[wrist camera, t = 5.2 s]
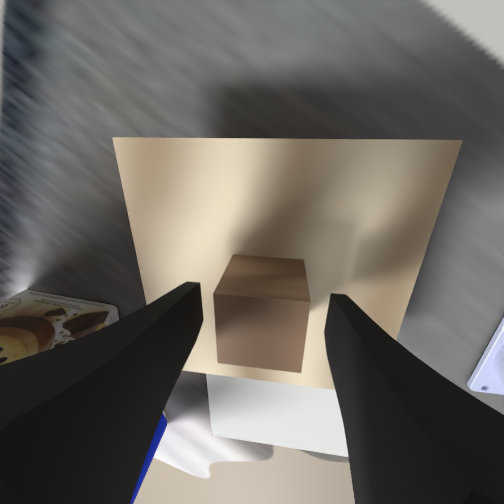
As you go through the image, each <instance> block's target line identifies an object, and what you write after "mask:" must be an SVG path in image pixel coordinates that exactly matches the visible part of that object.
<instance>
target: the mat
mask: <svg viewBox="0 0 504 504" xmlns="http://www.w3.org/2000/svg"><path fill="white" fill-rule="evenodd" d="M206 378H207V388H208V399H209V409H210V420H211V430H212V435H214V436H220V437H226V438H233V439H239V440H245V441H252V442H258V443H264V444H270V445H277V446H284V447H289V448H296V449H302V450H308V451H314V452H321V453H327V454H333V455H340V456H346V457H349V456H348V450H347V444H346V437H345V431H344V425H343V420H342V415H341V411H340V407H339V403H338V399H337V395H336V391H335V390H332V389H324V388H316V387H308V386H301V385H293V384H285V383H277V382H269V381H262V380H254V379H246V378H238V377H230V376H223V375H215V374H207V373H206Z"/></svg>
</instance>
